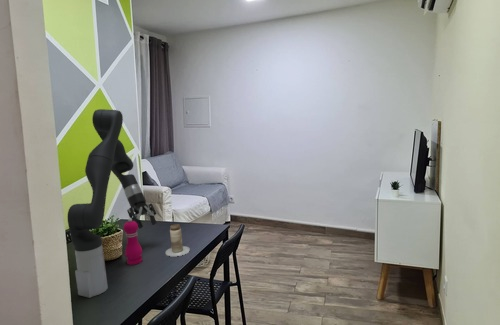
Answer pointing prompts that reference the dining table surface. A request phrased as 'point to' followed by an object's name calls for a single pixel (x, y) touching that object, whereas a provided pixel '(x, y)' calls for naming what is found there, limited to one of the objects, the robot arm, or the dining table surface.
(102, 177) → the robot arm
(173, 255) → the tile
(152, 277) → the dining table surface
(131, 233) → the pepper mill
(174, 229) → the salt shaker
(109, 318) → the dining table surface
